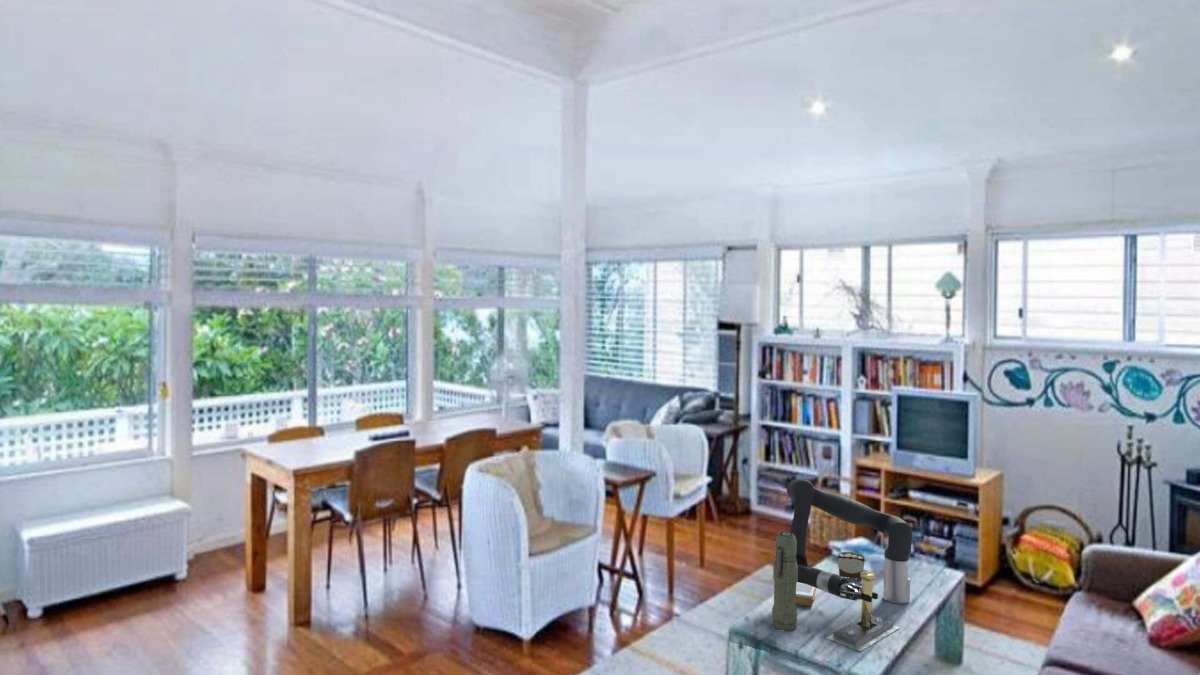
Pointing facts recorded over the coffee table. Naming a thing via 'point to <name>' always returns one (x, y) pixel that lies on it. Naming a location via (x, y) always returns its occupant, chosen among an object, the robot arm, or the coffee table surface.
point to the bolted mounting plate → (863, 633)
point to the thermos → (785, 582)
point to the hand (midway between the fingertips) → (874, 598)
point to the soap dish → (805, 594)
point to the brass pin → (866, 606)
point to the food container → (850, 564)
